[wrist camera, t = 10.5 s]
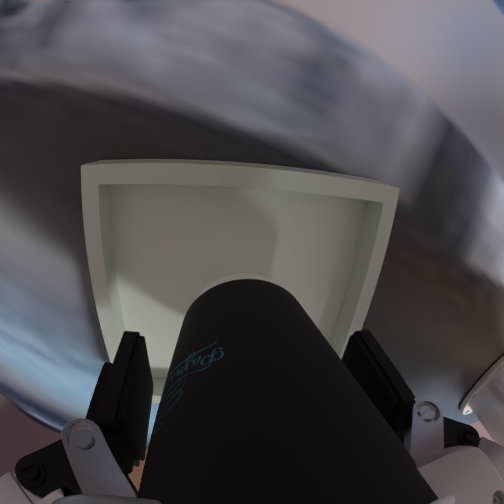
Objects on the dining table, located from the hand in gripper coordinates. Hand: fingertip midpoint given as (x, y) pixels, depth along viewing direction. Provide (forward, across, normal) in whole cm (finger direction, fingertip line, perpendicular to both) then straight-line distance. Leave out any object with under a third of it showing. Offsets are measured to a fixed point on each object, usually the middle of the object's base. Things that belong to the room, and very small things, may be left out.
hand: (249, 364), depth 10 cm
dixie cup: (+3, 0, 0) cm, 3 cm away
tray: (+5, 0, 0) cm, 5 cm away
